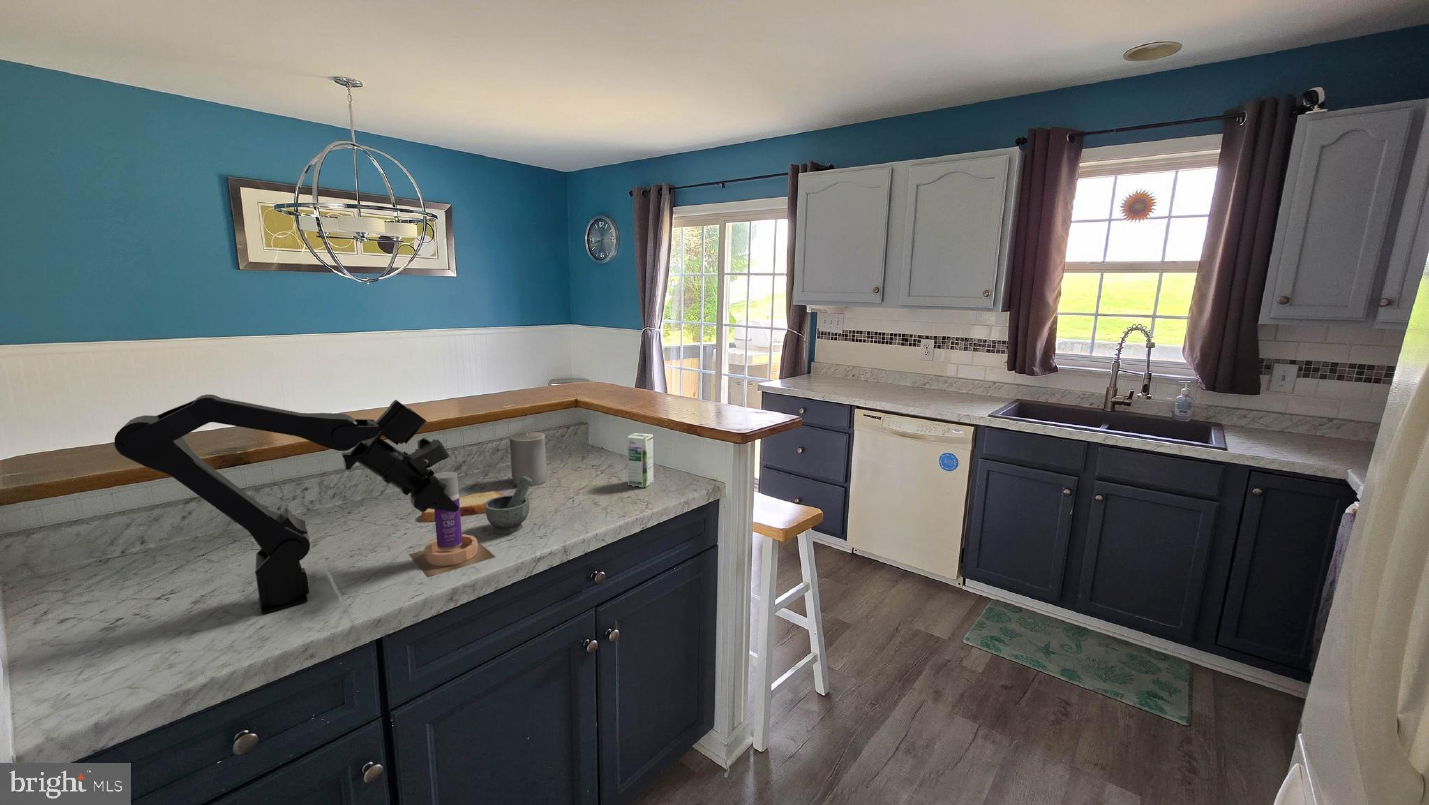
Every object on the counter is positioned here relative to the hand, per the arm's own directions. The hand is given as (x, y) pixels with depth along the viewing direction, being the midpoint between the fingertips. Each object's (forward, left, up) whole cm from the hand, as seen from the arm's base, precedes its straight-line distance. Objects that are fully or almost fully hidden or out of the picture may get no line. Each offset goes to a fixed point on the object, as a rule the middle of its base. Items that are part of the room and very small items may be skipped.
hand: (454, 506), depth 117 cm
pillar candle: (+32, +36, -11) cm, 49 cm away
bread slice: (+11, +24, -12) cm, 29 cm away
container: (-1, 0, -8) cm, 8 cm away
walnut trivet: (-1, 0, -11) cm, 11 cm away
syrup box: (+55, +13, -11) cm, 57 cm away
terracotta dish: (-1, 0, -10) cm, 11 cm away
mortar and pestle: (+14, +6, -11) cm, 19 cm away
